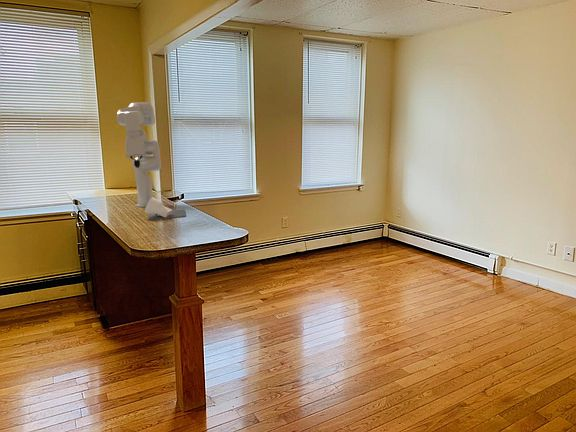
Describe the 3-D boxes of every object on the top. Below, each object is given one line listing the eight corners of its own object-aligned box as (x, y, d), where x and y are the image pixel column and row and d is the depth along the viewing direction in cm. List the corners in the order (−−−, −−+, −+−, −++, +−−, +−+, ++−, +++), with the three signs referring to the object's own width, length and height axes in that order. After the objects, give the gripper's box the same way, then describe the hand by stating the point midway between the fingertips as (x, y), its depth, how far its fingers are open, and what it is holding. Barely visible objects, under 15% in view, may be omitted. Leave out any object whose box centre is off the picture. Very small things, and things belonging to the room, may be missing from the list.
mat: (149, 213, 254) (149, 212, 254) (184, 210, 259) (184, 209, 258) (148, 220, 235) (147, 219, 235) (185, 216, 240) (185, 215, 239)
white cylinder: (143, 213, 237) (163, 222, 237) (149, 198, 235) (169, 208, 235) (149, 210, 245) (168, 219, 246) (155, 196, 243) (174, 205, 244)
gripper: (148, 133, 244) (151, 166, 248) (120, 134, 240) (124, 167, 244) (147, 134, 237) (151, 167, 241) (118, 135, 233) (123, 169, 237)
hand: (137, 167), depth 242 cm, fingers closed
